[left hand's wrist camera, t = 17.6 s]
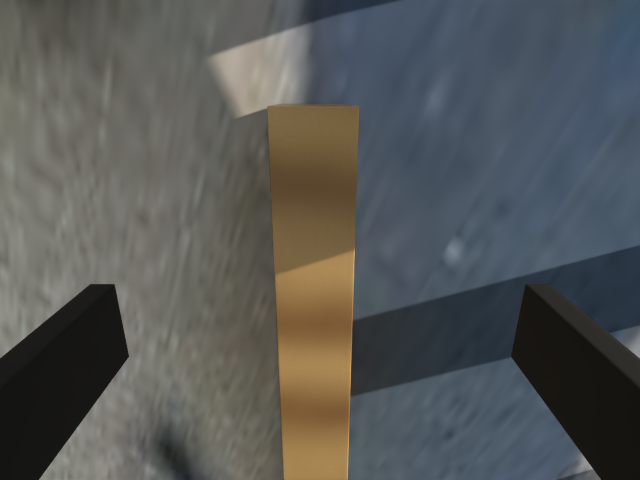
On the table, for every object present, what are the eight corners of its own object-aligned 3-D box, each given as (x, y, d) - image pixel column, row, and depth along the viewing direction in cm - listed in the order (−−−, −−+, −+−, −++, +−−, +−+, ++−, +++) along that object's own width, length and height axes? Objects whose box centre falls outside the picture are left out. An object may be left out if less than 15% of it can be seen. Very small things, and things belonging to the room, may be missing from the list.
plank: (278, 104, 30) (266, 106, 22) (347, 104, 30) (359, 106, 23) (296, 621, 52) (293, 712, 45) (336, 620, 53) (340, 711, 45)
